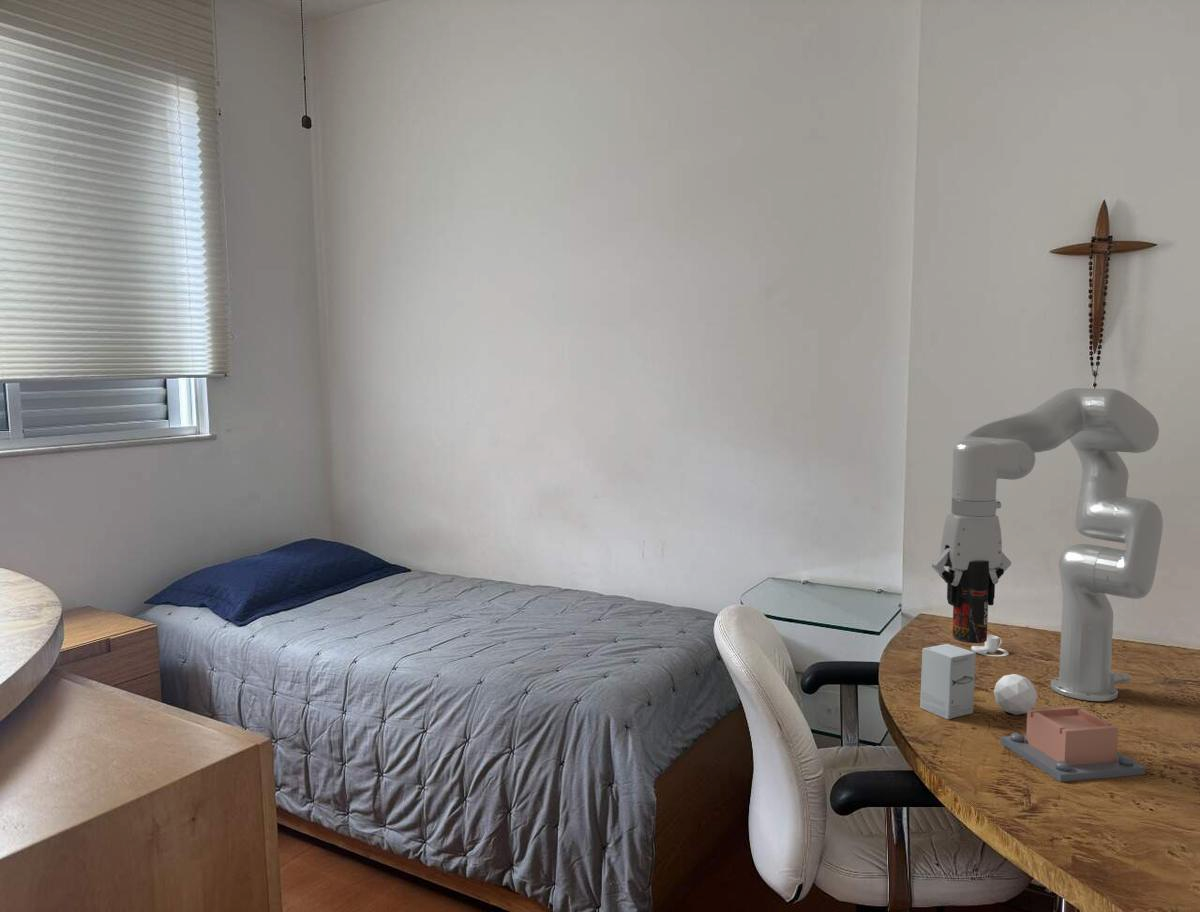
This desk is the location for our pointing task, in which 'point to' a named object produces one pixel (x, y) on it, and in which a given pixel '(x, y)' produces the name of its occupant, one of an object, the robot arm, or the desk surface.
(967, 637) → the deodorant
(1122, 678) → the robot arm
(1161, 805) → the desk surface
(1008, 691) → the geometric ball
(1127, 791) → the desk surface
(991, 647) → the teacup and saucer
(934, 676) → the supplement box
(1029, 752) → the tower base
